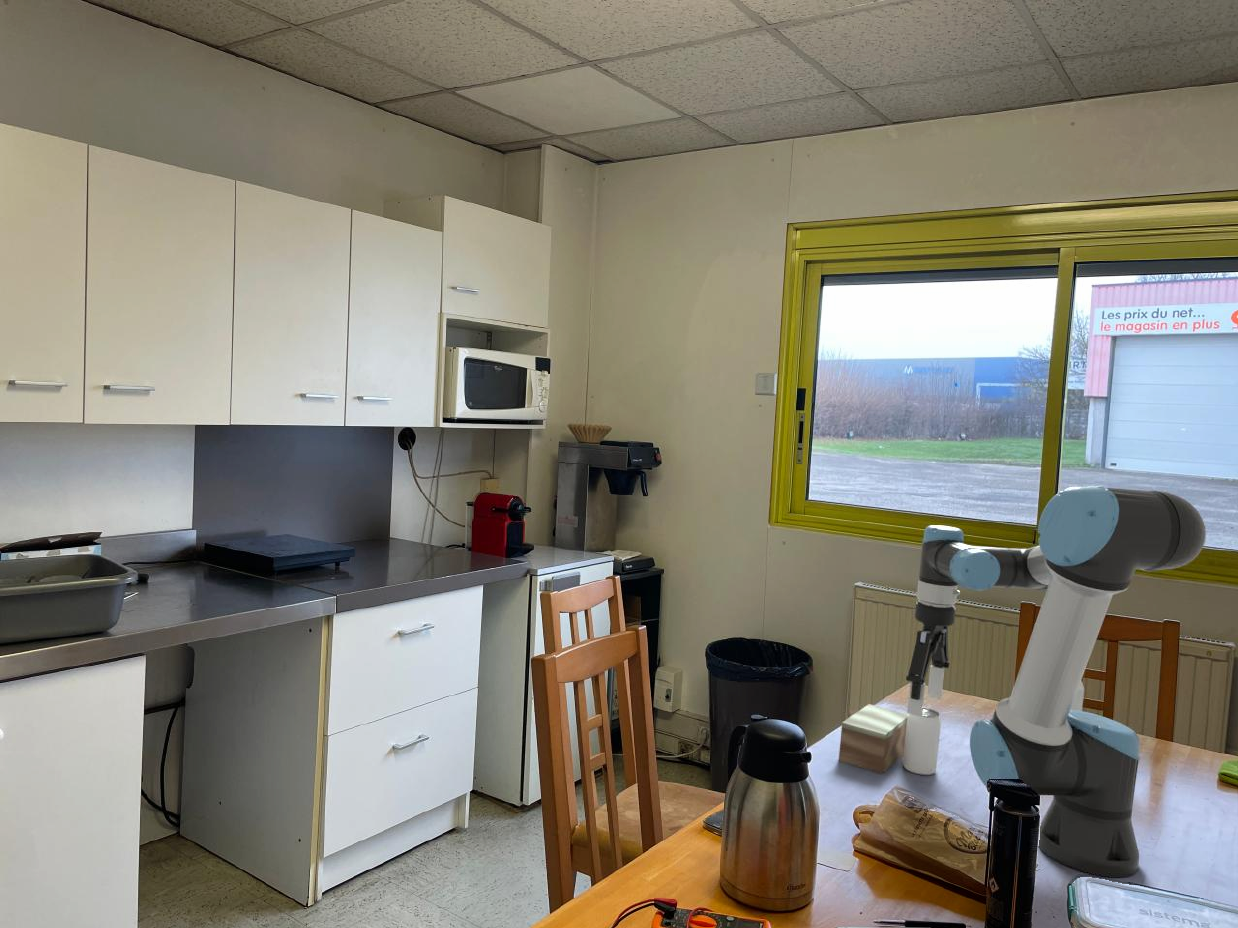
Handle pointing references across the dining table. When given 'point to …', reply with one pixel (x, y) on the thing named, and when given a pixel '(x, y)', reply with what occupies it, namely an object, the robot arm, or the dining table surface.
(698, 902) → the dining table surface
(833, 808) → the dining table surface
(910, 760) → the can
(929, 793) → the dining table surface
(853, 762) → the stand
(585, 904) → the dining table surface
